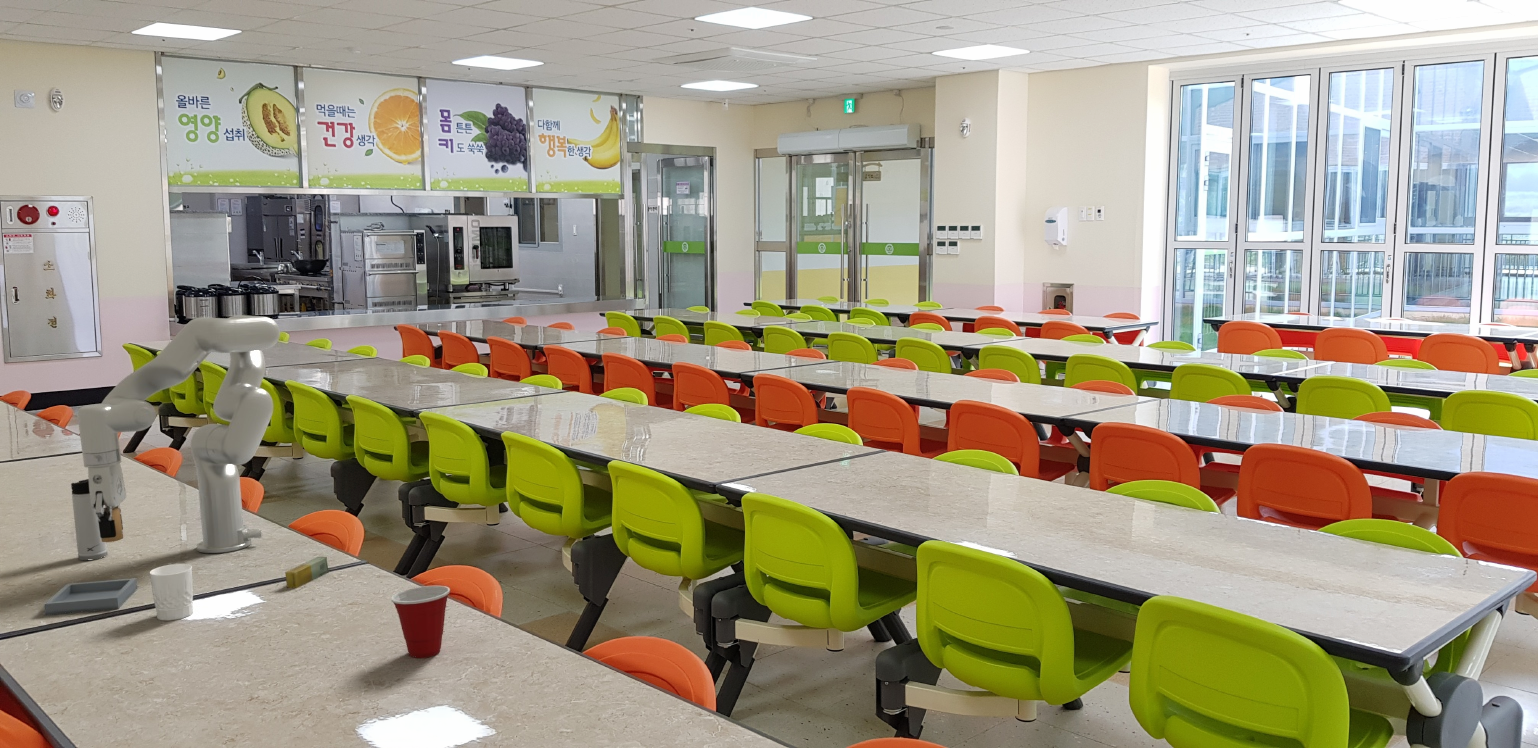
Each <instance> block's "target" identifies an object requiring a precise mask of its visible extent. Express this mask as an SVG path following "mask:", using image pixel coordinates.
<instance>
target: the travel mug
mask: <svg viewBox="0 0 1538 748" xmlns="http://www.w3.org/2000/svg"><path fill="white" fill-rule="evenodd" d="M70 486H71V487H70V489H71V498H72V499H71V500H72V507H73V509H72V510H73V517H74V527H75V529H74V530H75V537H76V548H77V557H78V560H80V561H83V560H88V559H96V560H99V559H98V558H101V557H104V556H106V555H107V556H108V546H107V543H108V542H102V539H101V537H100V530H99V523H98V516H97V514H96V513H95V510H96V509H93V508H92V505H91V499H90V491H89V478H87V479H82V480H78V482H72V483H71V484H70ZM107 556H106V557H107ZM104 558H105V557H104ZM101 559H102V558H101Z"/></svg>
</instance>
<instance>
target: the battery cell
mask: <svg viewBox="0 0 1538 748" xmlns="http://www.w3.org/2000/svg"><path fill="white" fill-rule="evenodd" d="M104 508H106V507H105V506H104ZM120 508H121V507H120ZM120 508H112V517H113V520H115V528H116V536H115V537H111V538H101V539H102V542H106V543H112V542H118V541H121V540H123V539H124V532H123V530H122V525H123V522H122V523H121V517H122V514H121V513H120ZM105 511H106V512H107V513H108V510H104V512H105ZM120 514H121V515H120Z"/></svg>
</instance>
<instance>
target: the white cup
mask: <svg viewBox="0 0 1538 748" xmlns="http://www.w3.org/2000/svg"><path fill="white" fill-rule="evenodd" d="M149 576H150V577H149V578H150V586H151V591H152V597H153V602H154V607H155V612H156V618H157V619H158V620H160V621H177V620H180V619H184V618H187V617H190V616H191V615H192V614H193V612H194V611H193V609H194V608H193V601H194V591H193V589H194V584H193V583H194V581H193V566H192V565H191V564H187V563H175V564H174V563H172V564H168V565H167V564H166V565H163V566H159V567H156V568H153V569H152V570H150V571H149Z"/></svg>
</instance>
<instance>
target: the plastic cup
mask: <svg viewBox="0 0 1538 748" xmlns="http://www.w3.org/2000/svg"><path fill="white" fill-rule="evenodd" d="M450 591H451V588H450V587H448V586H446V585H426V586H418V587H413V588H407V589H405V590H402V591H398V592H396V593H395V594H393V595H391V597H390V601H391V602H392V603H393V604H394V606H395V609H396V613H397V614H398V618H399V619H398V620H399V622H400V626H401V630H402V634H403V638H404V640H405V644H406V649H407V652H408V656H410V657H411V658H415V659H423V658H425V659H426V658H429V657H434V656H436V655H438V654H439V653H440V652H441V649H442V642H443V635H444V627H445V616H446V608H447V602H448V596H449V595H450V593H451V592H450Z"/></svg>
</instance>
